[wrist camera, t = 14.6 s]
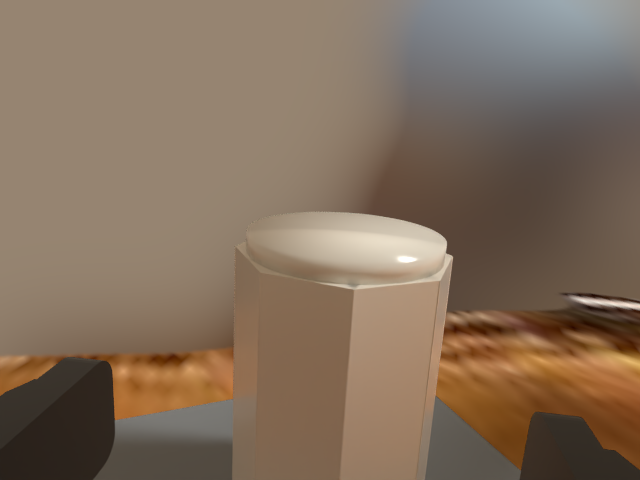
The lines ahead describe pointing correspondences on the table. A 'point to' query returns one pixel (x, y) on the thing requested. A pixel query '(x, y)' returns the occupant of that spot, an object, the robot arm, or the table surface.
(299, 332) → the cup
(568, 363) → the table surface
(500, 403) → the table surface
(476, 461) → the slate mat
